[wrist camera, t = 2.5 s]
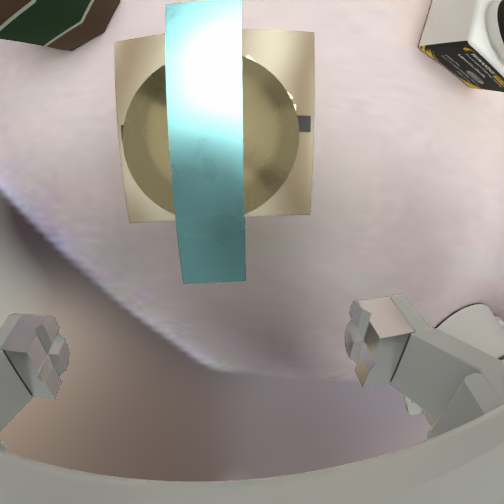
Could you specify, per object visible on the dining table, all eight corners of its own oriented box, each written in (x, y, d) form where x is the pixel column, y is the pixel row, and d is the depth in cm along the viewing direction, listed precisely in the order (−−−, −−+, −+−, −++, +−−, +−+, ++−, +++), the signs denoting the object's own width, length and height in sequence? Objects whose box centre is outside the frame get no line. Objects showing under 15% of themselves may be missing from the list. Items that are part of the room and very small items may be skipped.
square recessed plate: (308, 36, 19) (337, 17, 14) (305, 208, 26) (329, 242, 20) (120, 45, 18) (87, 30, 13) (134, 216, 25) (110, 252, 19)
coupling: (275, 45, 17) (318, 4, 8) (275, 203, 22) (309, 276, 13) (150, 51, 17) (93, 18, 8) (160, 208, 22) (122, 285, 13)
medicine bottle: (416, 47, 20) (520, 40, 9) (433, -9, 17) (526, -33, 6) (470, 89, 21) (569, 107, 11) (485, 34, 18) (577, 35, 8)
